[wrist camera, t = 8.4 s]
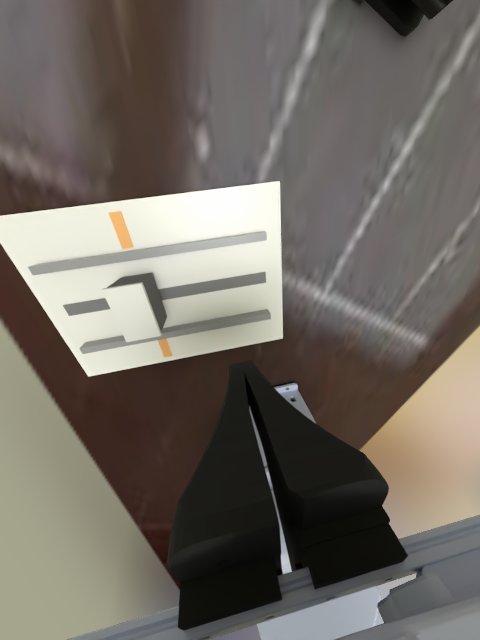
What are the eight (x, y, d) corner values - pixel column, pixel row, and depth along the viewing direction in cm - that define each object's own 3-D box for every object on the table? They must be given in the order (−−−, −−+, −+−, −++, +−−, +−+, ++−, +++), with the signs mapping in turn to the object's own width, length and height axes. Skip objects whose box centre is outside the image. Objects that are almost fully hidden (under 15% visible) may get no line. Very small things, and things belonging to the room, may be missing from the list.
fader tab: (152, 271, 16) (141, 283, 13) (167, 316, 18) (160, 336, 15) (120, 276, 15) (101, 289, 13) (139, 322, 17) (126, 342, 14)
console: (271, 185, 16) (284, 178, 14) (276, 329, 23) (286, 343, 20) (10, 218, 14) (-33, 217, 12) (98, 363, 21) (82, 384, 18)
